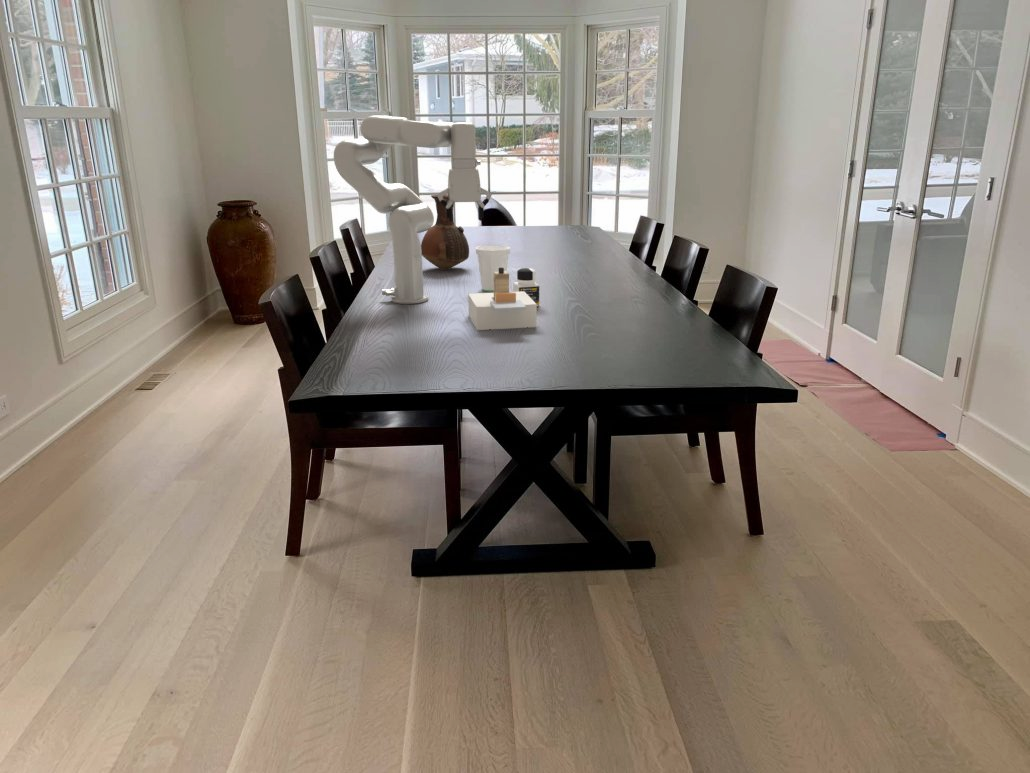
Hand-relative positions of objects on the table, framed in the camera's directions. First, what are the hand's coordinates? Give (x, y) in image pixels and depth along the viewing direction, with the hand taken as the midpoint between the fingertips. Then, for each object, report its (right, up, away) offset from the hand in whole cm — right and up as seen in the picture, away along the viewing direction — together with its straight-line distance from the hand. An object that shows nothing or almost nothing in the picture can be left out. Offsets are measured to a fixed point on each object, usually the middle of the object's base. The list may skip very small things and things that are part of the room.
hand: (465, 220), depth 239 cm
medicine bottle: (+20, -25, +13) cm, 35 cm away
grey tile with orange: (+14, -30, -20) cm, 38 cm away
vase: (-13, -5, +72) cm, 73 cm away
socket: (+12, -33, -7) cm, 36 cm away
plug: (+12, -30, -9) cm, 33 cm away
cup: (+8, -18, +35) cm, 40 cm away
